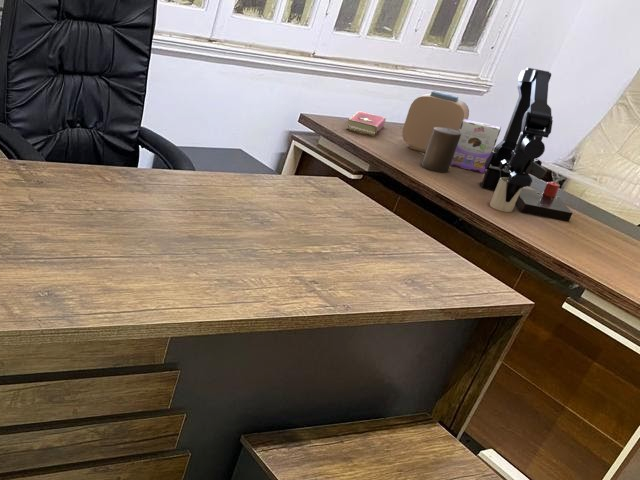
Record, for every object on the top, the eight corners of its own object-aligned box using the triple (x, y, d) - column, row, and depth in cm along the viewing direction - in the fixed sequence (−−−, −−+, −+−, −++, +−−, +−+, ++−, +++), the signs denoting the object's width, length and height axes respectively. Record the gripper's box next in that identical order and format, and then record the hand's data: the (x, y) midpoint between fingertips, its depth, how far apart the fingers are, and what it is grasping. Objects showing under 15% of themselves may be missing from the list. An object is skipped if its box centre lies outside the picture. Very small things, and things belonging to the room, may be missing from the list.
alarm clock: (454, 155, 310) (475, 99, 298) (449, 159, 303) (470, 102, 291) (404, 141, 318) (422, 86, 307) (397, 145, 311) (415, 88, 299)
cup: (491, 208, 256) (502, 182, 251) (487, 201, 262) (498, 175, 257) (514, 213, 255) (526, 186, 250) (509, 206, 261) (520, 180, 256)
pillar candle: (447, 174, 284) (463, 132, 276) (420, 168, 287) (434, 126, 279) (448, 168, 292) (463, 127, 284) (421, 161, 295) (435, 121, 286)
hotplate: (521, 212, 257) (525, 203, 255) (508, 193, 274) (512, 184, 273) (570, 222, 256) (574, 213, 254) (554, 202, 273) (557, 193, 271)
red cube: (556, 198, 266) (561, 185, 264) (544, 195, 267) (549, 183, 264) (553, 194, 270) (558, 182, 268) (541, 192, 270) (546, 180, 268)
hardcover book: (383, 127, 335) (386, 117, 333) (374, 136, 318) (377, 125, 316) (355, 120, 339) (358, 110, 336) (345, 129, 322) (348, 118, 320)
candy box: (485, 170, 297) (502, 126, 288) (484, 173, 292) (501, 129, 284) (447, 161, 301) (463, 117, 292) (446, 164, 296) (462, 120, 288)
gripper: (558, 163, 240) (536, 212, 248) (543, 148, 256) (523, 194, 264) (521, 156, 241) (501, 205, 249) (508, 141, 257) (489, 187, 265)
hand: (504, 198), depth 257 cm, fingers closed on cup, 7 cm apart
